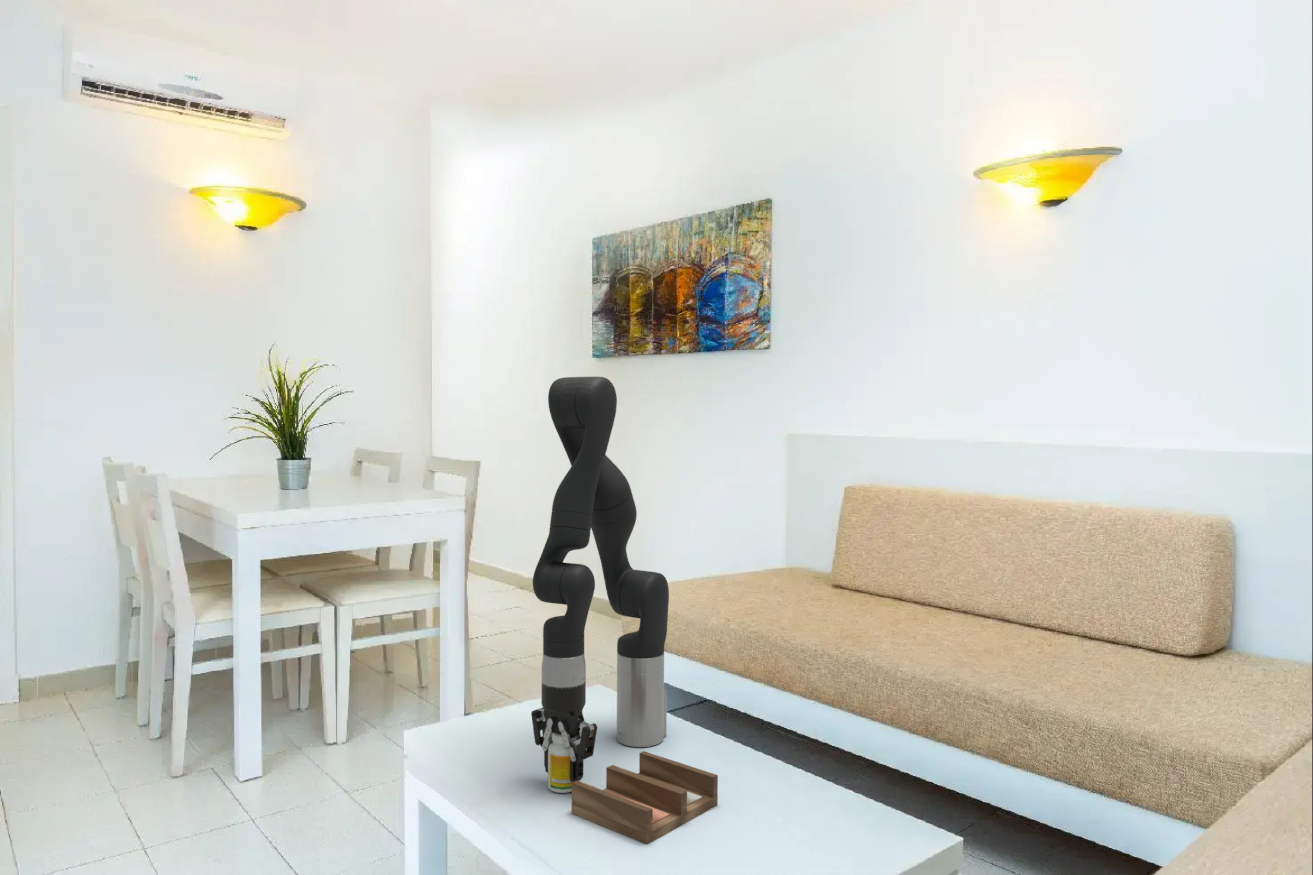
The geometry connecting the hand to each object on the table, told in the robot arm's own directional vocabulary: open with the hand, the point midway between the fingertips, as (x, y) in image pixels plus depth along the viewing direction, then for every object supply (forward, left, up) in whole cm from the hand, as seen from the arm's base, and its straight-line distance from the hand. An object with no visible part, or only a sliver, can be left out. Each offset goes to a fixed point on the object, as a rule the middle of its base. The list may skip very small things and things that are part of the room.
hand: (563, 775), depth 162 cm
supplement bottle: (0, 0, -2) cm, 2 cm away
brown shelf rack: (-3, +16, -2) cm, 16 cm away
